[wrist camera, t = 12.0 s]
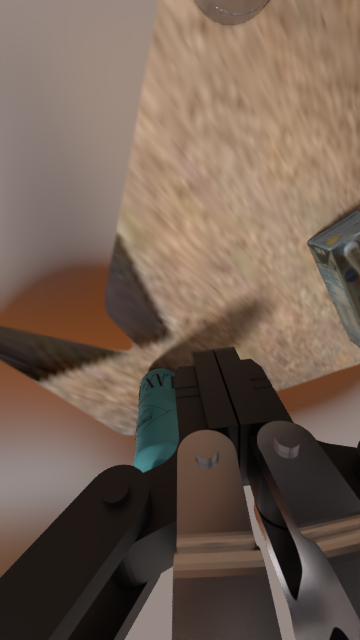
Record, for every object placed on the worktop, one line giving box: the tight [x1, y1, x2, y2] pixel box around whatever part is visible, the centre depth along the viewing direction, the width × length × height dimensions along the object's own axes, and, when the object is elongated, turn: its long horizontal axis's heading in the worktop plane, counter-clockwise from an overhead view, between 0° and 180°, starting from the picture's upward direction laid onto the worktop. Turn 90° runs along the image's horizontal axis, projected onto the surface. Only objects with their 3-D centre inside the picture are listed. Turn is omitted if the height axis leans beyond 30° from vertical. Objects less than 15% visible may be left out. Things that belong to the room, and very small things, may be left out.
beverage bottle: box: [134, 368, 179, 473], centre depth 37 cm, size 6×7×20 cm
